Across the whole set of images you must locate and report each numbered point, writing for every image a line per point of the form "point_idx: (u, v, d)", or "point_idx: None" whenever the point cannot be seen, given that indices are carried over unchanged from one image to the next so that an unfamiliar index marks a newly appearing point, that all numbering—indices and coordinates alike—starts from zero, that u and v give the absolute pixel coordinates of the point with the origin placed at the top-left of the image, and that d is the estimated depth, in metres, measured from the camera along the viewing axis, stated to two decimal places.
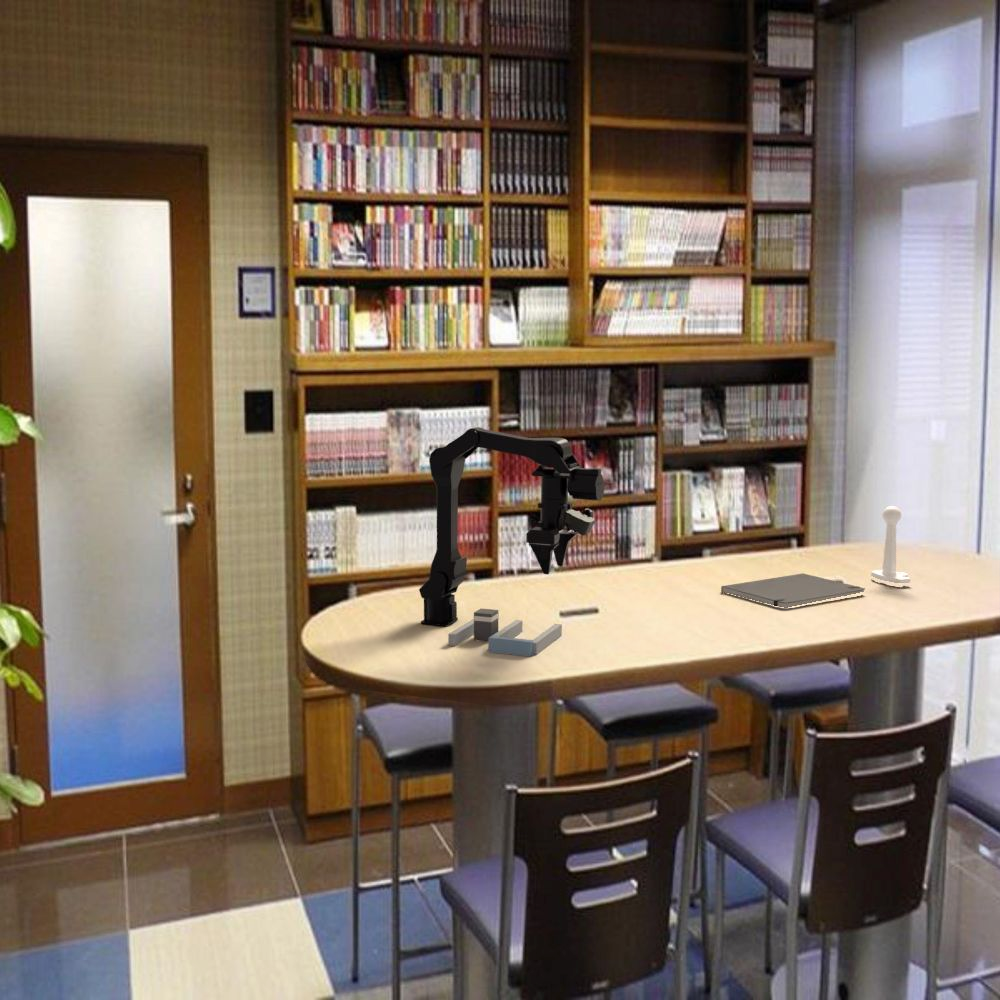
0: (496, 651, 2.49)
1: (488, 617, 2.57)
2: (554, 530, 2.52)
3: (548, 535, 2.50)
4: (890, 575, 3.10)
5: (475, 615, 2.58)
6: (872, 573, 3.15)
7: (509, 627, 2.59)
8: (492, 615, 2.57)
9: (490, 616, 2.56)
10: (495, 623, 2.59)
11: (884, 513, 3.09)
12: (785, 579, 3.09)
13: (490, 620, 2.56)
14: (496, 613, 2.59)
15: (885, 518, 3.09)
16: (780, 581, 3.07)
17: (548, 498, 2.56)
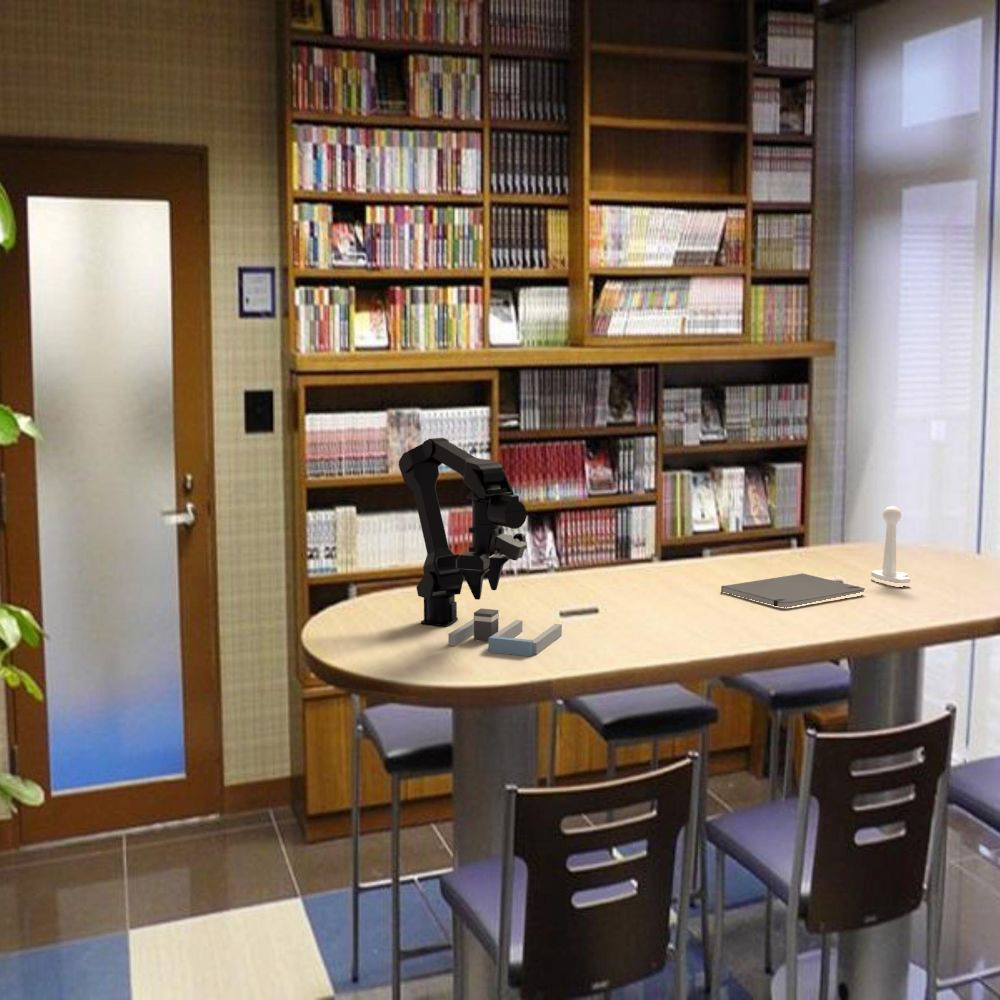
0: (496, 651, 2.49)
1: (488, 617, 2.57)
2: (484, 555, 2.50)
3: (477, 561, 2.48)
4: (890, 575, 3.10)
5: (475, 615, 2.58)
6: (872, 573, 3.15)
7: (509, 627, 2.59)
8: (492, 615, 2.57)
9: (490, 616, 2.56)
10: (495, 623, 2.59)
11: (884, 513, 3.09)
12: (785, 579, 3.09)
13: (490, 620, 2.56)
14: (496, 613, 2.59)
15: (885, 518, 3.09)
16: (780, 581, 3.07)
17: (474, 522, 2.54)
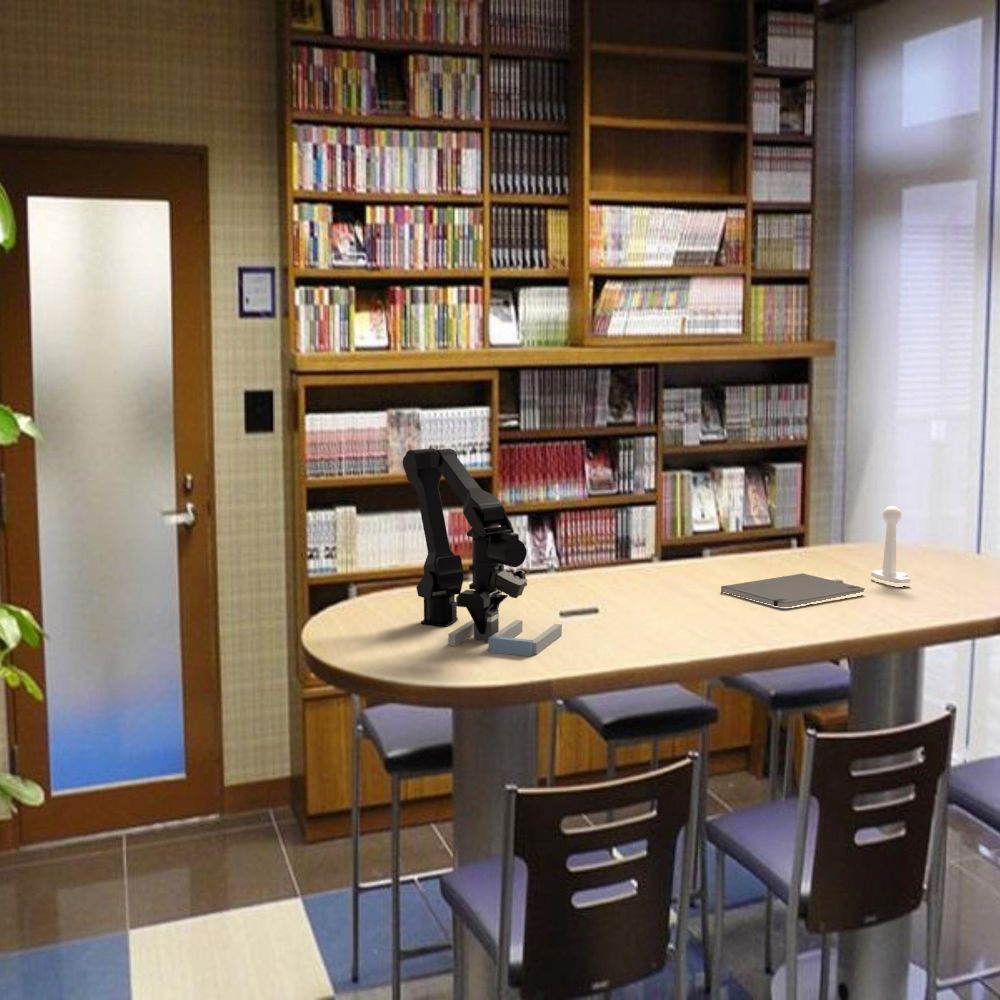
0: (496, 651, 2.49)
1: (489, 617, 2.57)
2: (484, 593, 2.51)
3: (477, 599, 2.49)
4: (890, 575, 3.10)
5: None
6: (872, 573, 3.15)
7: (509, 627, 2.59)
8: (492, 615, 2.57)
9: (490, 616, 2.56)
10: (495, 623, 2.59)
11: (884, 513, 3.09)
12: (785, 579, 3.09)
13: (490, 620, 2.56)
14: (496, 613, 2.59)
15: (885, 518, 3.09)
16: (780, 581, 3.07)
17: (474, 559, 2.56)
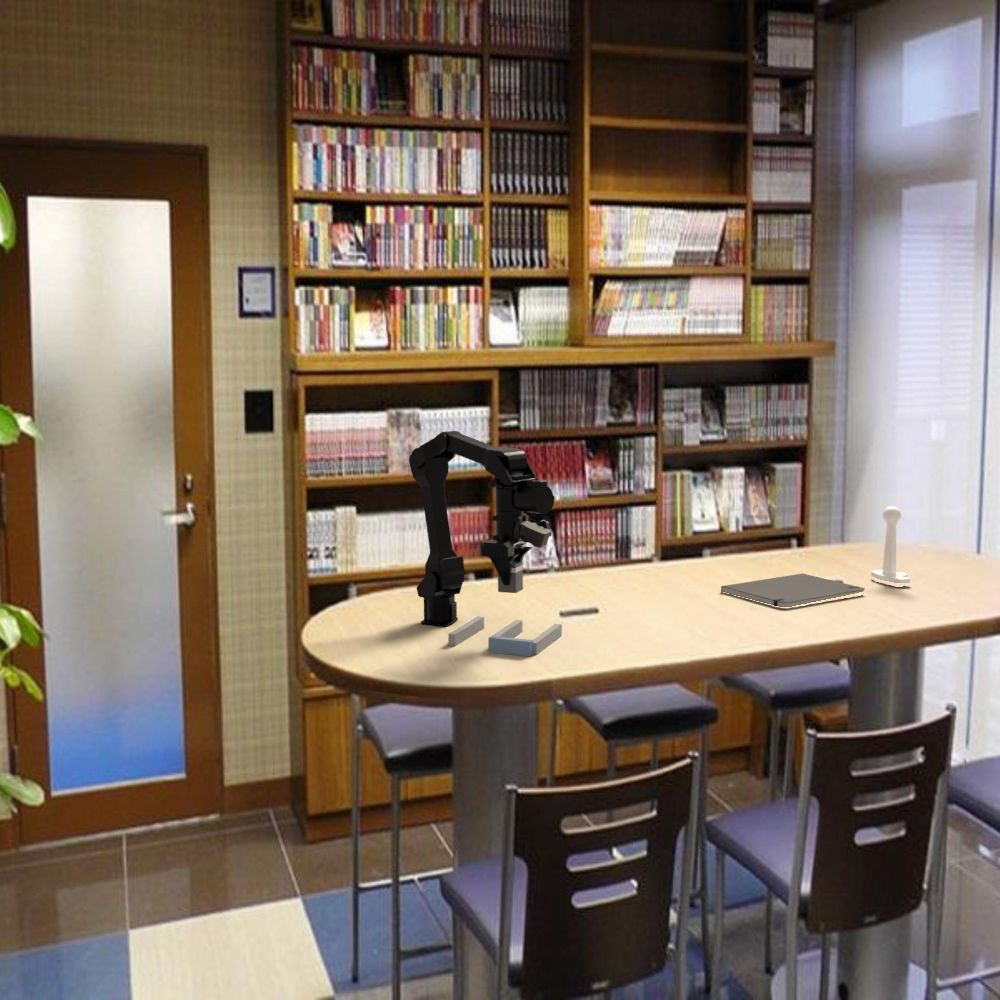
0: (496, 651, 2.49)
1: (513, 568, 2.53)
2: (508, 542, 2.47)
3: (501, 547, 2.45)
4: (890, 575, 3.10)
5: None
6: (872, 573, 3.15)
7: (509, 627, 2.59)
8: (516, 566, 2.53)
9: (514, 567, 2.52)
10: (519, 574, 2.55)
11: (884, 513, 3.09)
12: (785, 579, 3.09)
13: (515, 571, 2.52)
14: (520, 564, 2.55)
15: (885, 518, 3.09)
16: (780, 581, 3.07)
17: (498, 510, 2.52)
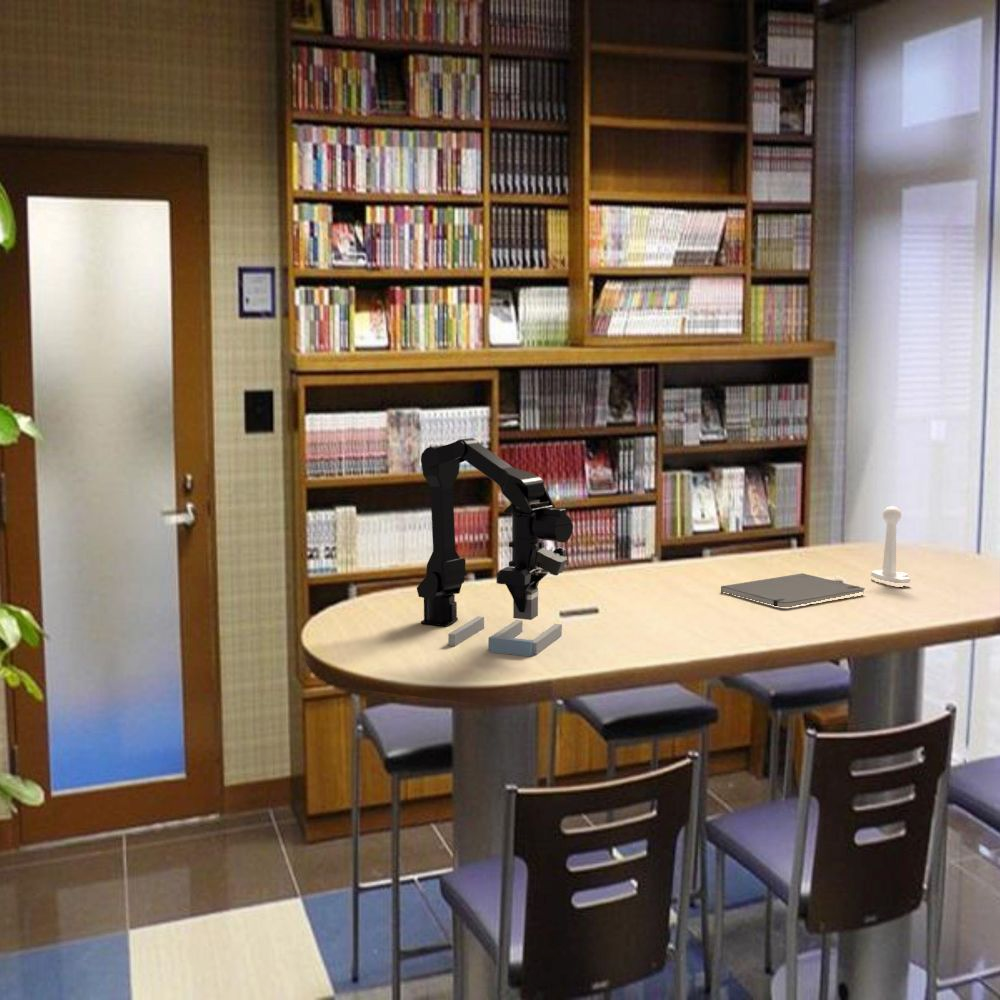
0: (496, 651, 2.49)
1: (528, 595, 2.52)
2: (525, 570, 2.47)
3: (518, 576, 2.45)
4: (890, 575, 3.10)
5: None
6: (872, 573, 3.15)
7: (509, 627, 2.59)
8: (532, 593, 2.53)
9: (530, 594, 2.52)
10: (535, 601, 2.55)
11: (884, 513, 3.09)
12: (785, 579, 3.09)
13: (530, 598, 2.52)
14: (536, 591, 2.55)
15: (885, 518, 3.09)
16: (780, 581, 3.07)
17: (515, 537, 2.51)
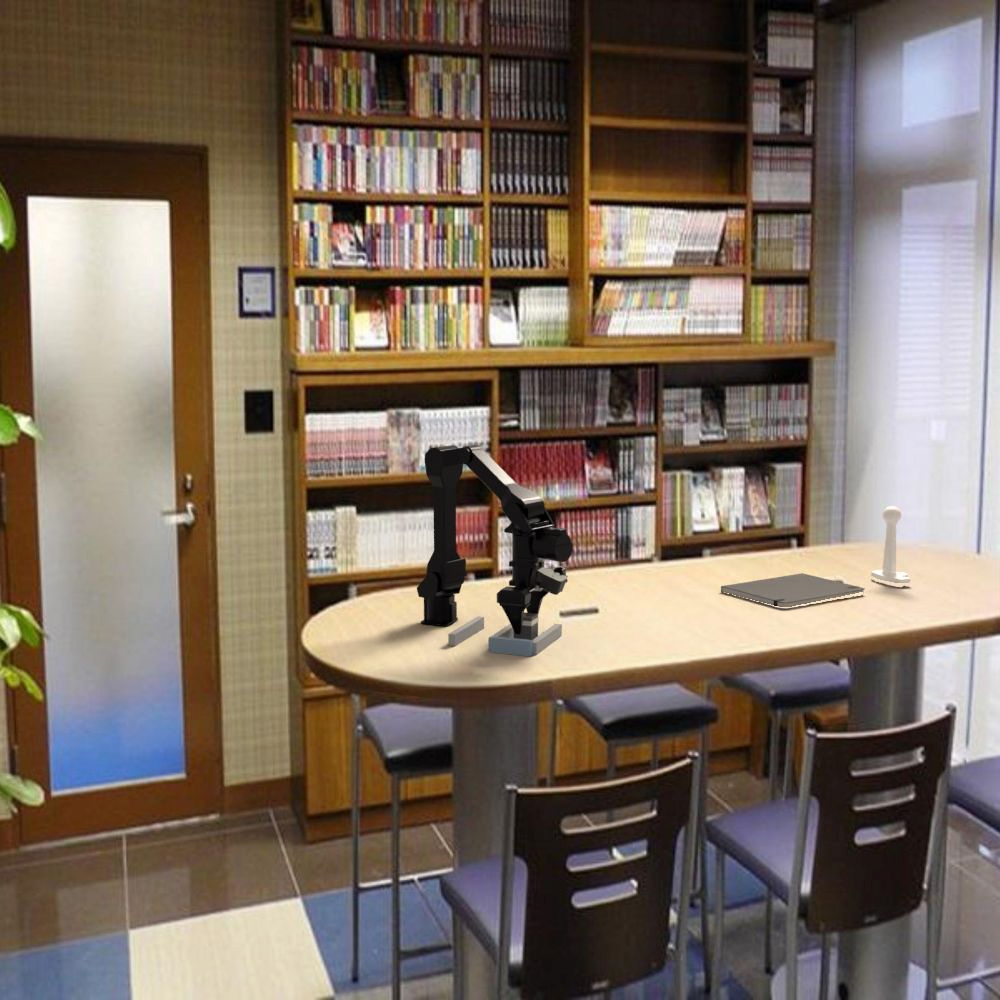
0: (496, 651, 2.49)
1: (529, 621, 2.53)
2: (525, 590, 2.47)
3: (519, 596, 2.45)
4: (890, 575, 3.10)
5: None
6: (872, 573, 3.15)
7: (509, 627, 2.59)
8: (532, 619, 2.54)
9: (530, 620, 2.53)
10: (535, 627, 2.55)
11: (884, 513, 3.09)
12: (785, 579, 3.09)
13: (530, 624, 2.53)
14: (536, 617, 2.56)
15: (885, 518, 3.09)
16: (780, 581, 3.07)
17: (516, 556, 2.52)
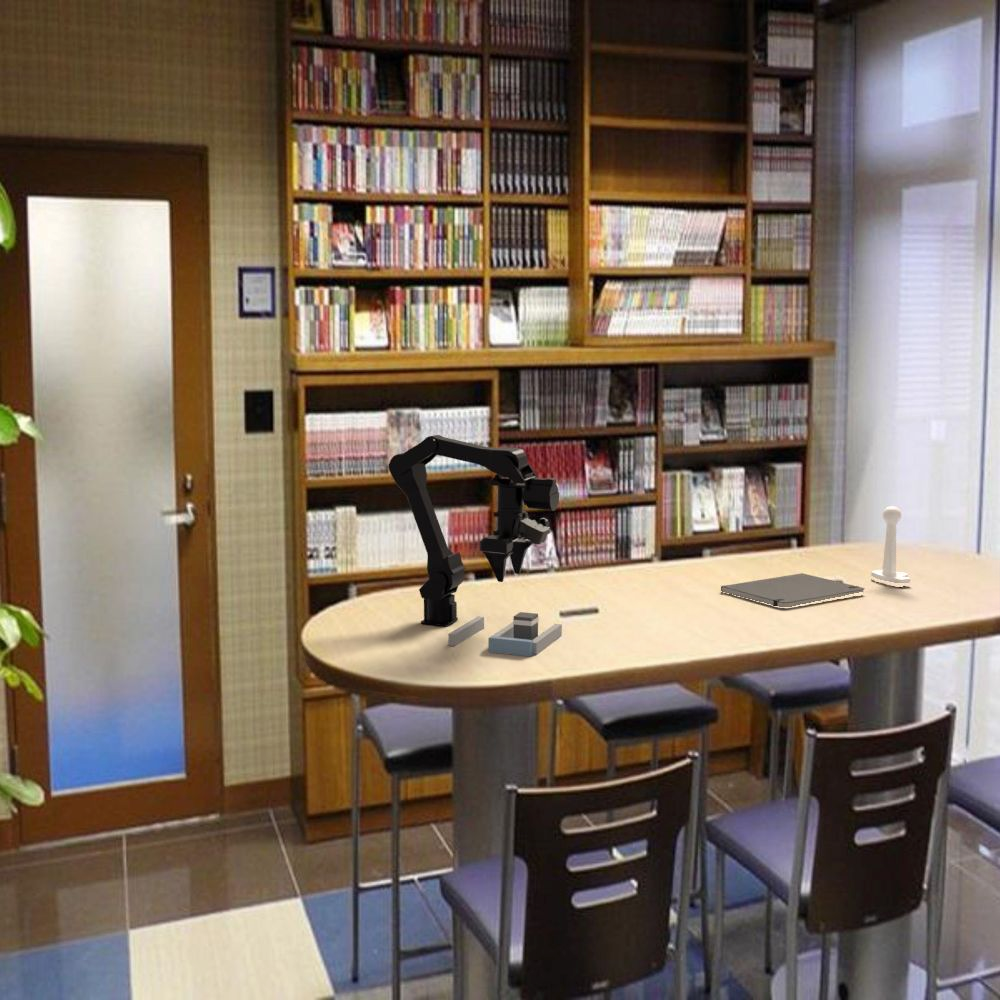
0: (496, 651, 2.49)
1: (528, 621, 2.53)
2: (507, 539, 2.56)
3: (500, 544, 2.54)
4: (890, 575, 3.10)
5: (515, 619, 2.54)
6: (872, 573, 3.15)
7: (509, 627, 2.59)
8: (532, 619, 2.54)
9: (530, 620, 2.53)
10: (535, 627, 2.55)
11: (884, 513, 3.09)
12: (784, 579, 3.09)
13: (530, 624, 2.53)
14: (536, 617, 2.56)
15: (885, 518, 3.09)
16: (779, 581, 3.07)
17: (504, 507, 2.60)
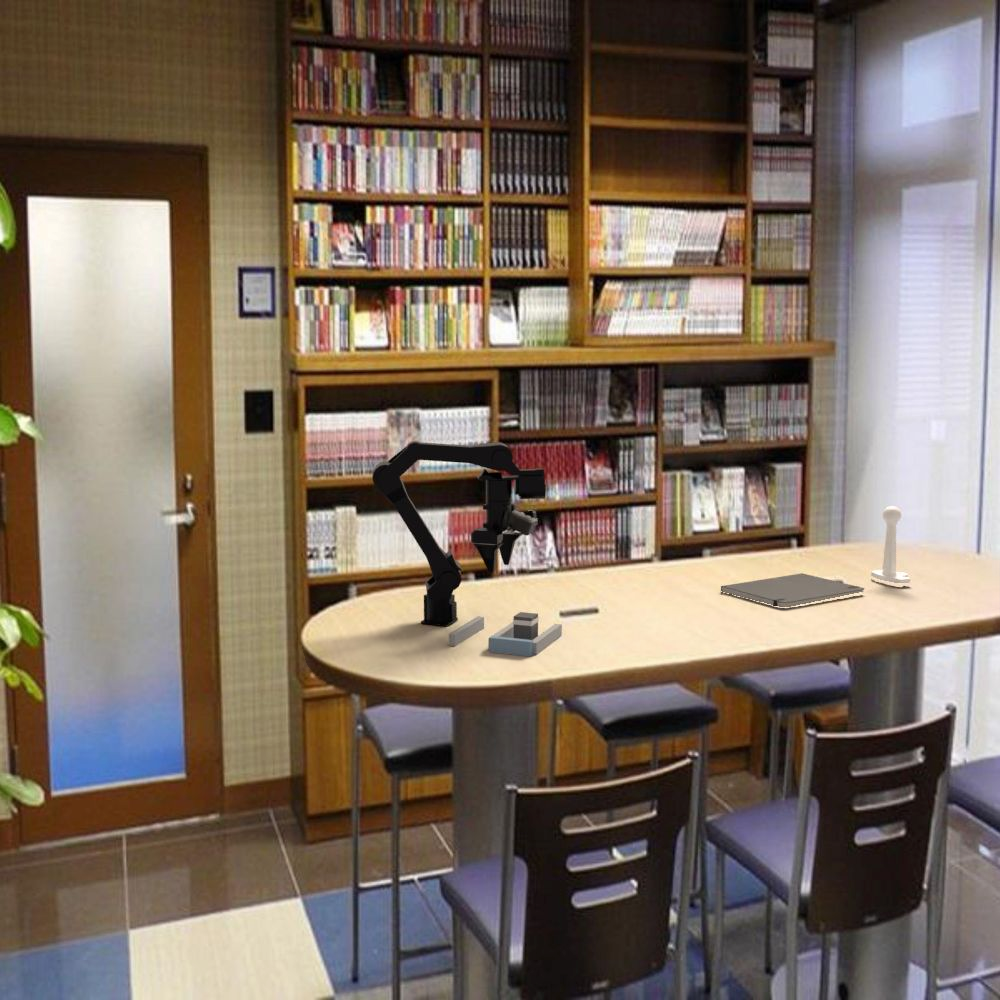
0: (496, 651, 2.49)
1: (528, 621, 2.53)
2: (497, 530, 2.64)
3: (491, 535, 2.62)
4: (890, 575, 3.10)
5: (515, 619, 2.54)
6: (872, 573, 3.15)
7: (509, 627, 2.59)
8: (532, 619, 2.54)
9: (530, 620, 2.53)
10: (535, 627, 2.55)
11: (884, 513, 3.09)
12: (784, 579, 3.10)
13: (530, 624, 2.53)
14: (536, 617, 2.56)
15: (885, 518, 3.09)
16: (779, 581, 3.07)
17: (498, 500, 2.68)
